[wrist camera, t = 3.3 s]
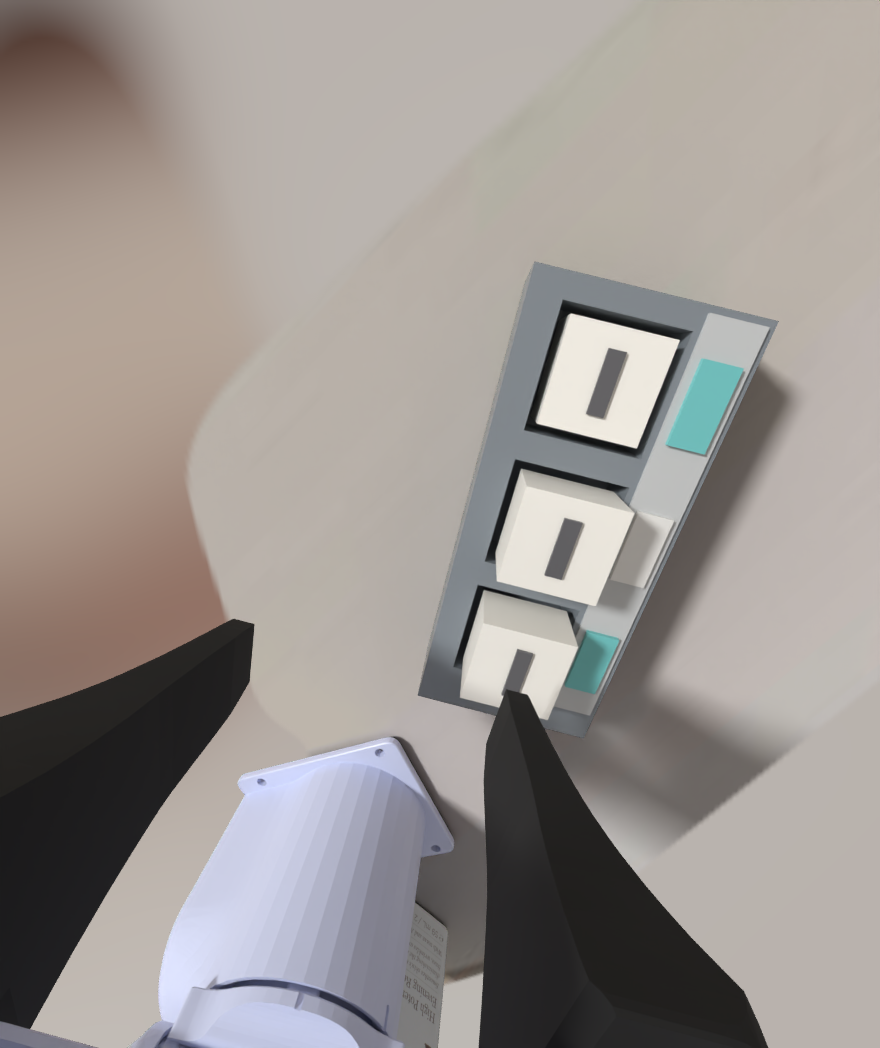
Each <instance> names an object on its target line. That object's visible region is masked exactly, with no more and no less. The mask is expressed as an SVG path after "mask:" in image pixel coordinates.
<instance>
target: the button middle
mask: <svg viewBox="0 0 880 1048" xmlns="http://www.w3.org/2000/svg"><path fill="white" fill-rule="evenodd" d="M634 514H635V513H634V512H633V511H632V510H631V509H630V508H629V507H628V506H627V505H626V504H625V503H624V502H623V501H622V500H621V499H620V498H619V497H618V496H617V495H616V494H615V493H614V492H613V491H609V490H605V489H601V488H597V487H593V486H589V485H585V484H581V483H577V482H573V481H569V480H565V479H561V478H557V477H553V476H549V475H545V474H541V473H537V472H533V471H529V470H525V469H521V471H520V474H519V477H518V480H517V484H516V487H515V490H514V493H513V497H512V500H511V503H510V507H509V510H508V513H507V516H506V520H505V523H504V526H503V529H502V533H501V536H500V539H499V543H498V546H497V549H496V552H495V553H496V576H497V581H498V582H502V583H506V584H510V585H514V586H517V587H521V588H525V589H529V590H533V591H537V592H541V593H545V594H549V595H553V596H557V597H561V598H565V599H569V600H573V601H576V602H580V603H584V604H588V605H592V606H596V604H597V602H598V599H599V597H600V595H601V592H602V590H603V588H604V585H605V583H606V580H607V578H608V576H609V573H610V571H611V568H612V566H613V564H614V561H615V559H616V557H617V554H618V552H619V549H620V547H621V545H622V542H623V540H624V537H625V535H626V533H627V530H628V528H629V526H630V523H631V521H632V518H633V516H634Z"/></svg>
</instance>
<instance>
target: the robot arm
mask: <svg viewBox="0 0 880 1048" xmlns="http://www.w3.org/2000/svg"><path fill="white" fill-rule="evenodd" d="M253 635H254V624H252V623H248V622H244V621H240V620H236V619H232V620H230V621H228V622H226V623H224V624H222V625H220V626H218V627H216V628H215V629H213V630H211V631H209V632H207V633H205V634H203V635H201V636H199V637H197V638H195V639H193V640H192V641H190V642H188V643H186V644H184V645H182V646H180V647H178V648H176V649H174V650H172V651H170V652H168V653H166V654H164V655H162V656H160V657H158V658H155V659H153V660H151V661H149V662H147V663H145V664H143V665H140V666H138V667H136V668H134V669H132V670H130V671H127V672H125V673H123V674H121V675H118V676H116V677H114V678H111V679H109V680H107V681H104V682H101V683H99V684H96V685H94V686H91V687H89V688H86V689H83V690H81V691H78V692H75V693H73V694H70V695H67V696H65V697H62V698H59V699H56V700H53V701H49V702H46V703H44V704H40V705H37V706H34V707H31V708H28V709H25V710H22V711H18V712H15V713H12V714H9V715H6V716H3V717H0V1048H97V1047H93V1046H90V1045H86V1044H82V1043H79V1042H75V1041H71V1040H68V1039H64V1038H60V1037H56V1036H53V1035H49V1034H45V1033H42V1032H38V1031H35V1030H31V1029H30V1028H31V1026H32V1025H33V1023H34V1021H35V1019H36V1017H37V1015H38V1013H39V1012H40V1010H41V1008H42V1006H43V1004H44V1003H45V1001H46V999H47V997H48V996H49V994H50V992H51V990H52V988H53V987H54V985H55V983H56V981H57V979H58V978H59V976H60V974H61V972H62V970H63V969H64V967H65V965H66V963H67V961H68V960H69V958H70V956H71V954H72V952H73V951H74V949H75V947H76V946H77V944H78V942H79V941H80V939H81V937H82V935H83V934H84V932H85V930H86V929H87V927H88V925H89V923H90V922H91V920H92V918H93V917H94V915H95V913H96V911H97V910H98V908H99V906H100V904H101V903H102V901H103V899H104V898H105V896H106V894H107V892H108V891H109V889H110V888H111V886H112V884H113V883H114V881H115V879H116V878H117V876H118V875H119V873H120V871H121V870H122V868H123V866H124V865H125V863H126V862H127V860H128V858H129V857H130V855H131V853H132V852H133V850H134V848H135V847H136V845H137V844H138V842H139V841H140V839H141V837H142V836H143V834H144V833H145V831H146V829H147V828H148V826H149V825H150V823H151V822H152V820H153V818H154V817H155V815H156V814H157V812H158V811H159V809H160V808H161V806H162V805H163V803H164V802H165V801H166V799H167V798H168V796H169V795H170V794H171V792H172V791H173V789H174V788H175V787H176V785H177V784H178V783H179V781H180V780H181V779H182V778H183V776H184V775H185V774H186V772H187V771H188V770H189V768H190V767H191V766H192V764H193V763H194V761H195V760H196V759H197V758H198V756H199V755H200V754H201V752H202V751H203V750H204V749H205V747H206V746H207V745H208V743H209V742H210V741H211V739H212V738H213V737H214V736H215V734H216V733H217V732H218V730H219V729H220V728H221V726H222V725H223V724H224V722H225V721H226V720H227V718H228V717H229V715H230V714H231V712H232V711H233V709H234V707H235V706H236V704H237V702H238V701H239V699H240V697H241V696H242V694H243V692H244V690H245V689H246V687H247V685H248V683H249V681H250V669H251V658H252V647H253ZM379 749H382V750H379ZM238 786H239V788H240V789H241V791H242V792H243V794H244V795H245V796H244V798H243V800H242V802H241V803H240V805H239V807H238V808H237V810H236V812H235V814H234V816H233V818H232V819H231V821H230V823H229V825H228V827H227V828H226V830H225V832H224V834H223V835H222V837H221V839H220V841H219V843H218V844H217V846H216V848H215V850H214V852H213V853H212V855H211V857H210V859H209V860H208V862H207V864H206V866H205V868H204V869H203V871H202V873H201V875H200V877H199V878H198V880H197V882H196V884H195V886H194V887H193V889H192V891H191V893H190V894H189V896H188V898H187V900H186V902H185V903H184V905H183V907H182V909H181V911H180V913H179V915H178V917H177V919H176V921H175V923H174V925H173V928H172V931H171V933H170V936H169V939H168V942H167V946H166V949H165V953H164V957H163V961H162V967H161V972H160V979H159V990H158V991H159V992H158V996H159V1007H160V1014H161V1018H162V1021H159V1022H156V1023H155V1024H153V1025H152V1026H151V1027H150V1028H149V1029H148V1030H147V1031H145V1033H144V1034H143V1035H142V1036H141V1037H140V1038H138V1039H137V1040H136V1041H134V1042H133V1043H132V1044H131V1045H129V1046H128V1047H127V1048H405V1044H404V1043H403V1042H402V1041H399V1040H397V1033H398V1025H399V1018H400V1010H401V1003H402V995H403V988H404V980H405V973H406V965H407V958H408V950H409V943H410V935H411V928H412V920H413V913H414V905H415V898H416V890H417V883H418V875H419V868H420V860H421V857H427V856H432V855H438V854H443V853H448V852H451V851H452V850H453V848H454V839H453V837H452V835H451V833H450V831H449V830H448V828H447V826H446V824H445V823H444V821H443V819H442V817H441V815H440V814H439V812H438V810H437V808H436V807H435V805H434V803H433V801H432V799H431V798H430V796H429V794H428V792H427V791H426V789H425V787H424V785H423V783H422V782H421V780H420V778H419V776H418V775H417V773H416V771H415V769H414V767H413V766H412V764H411V762H410V760H409V759H408V757H407V755H406V753H405V751H404V750H403V748H402V746H401V744H400V743H399V741H398V740H396V739H395V738H392V737H386V738H382V739H378V740H375V741H371V742H367V743H363V744H359V745H355V746H351V747H347V748H343V749H339V750H335V751H331V752H327V753H323V754H320V755H316V756H312V757H308V758H304V759H300V760H296V761H292V762H288V763H284V764H280V765H276V766H273V767H269V768H265V769H261V770H257V771H253V772H249V773H245V774H243V775H242V776H241V777H240V779H239V781H238ZM484 805H485V830H486V855H487V915H486V937H485V956H484V974H483V992H482V1007H481V1008H482V1009H481V1022H480V1036H479V1048H768V1046H767V1044H766V1041H765V1038H764V1036H763V1033H762V1031H761V1028H760V1026H759V1023H758V1021H757V1019H756V1017H755V1014H754V1012H753V1010H752V1008H751V1006H750V1003H749V1001H748V999H747V997H746V995H745V993H744V991H743V990H742V989H741V988H740V987H739V986H738V985H737V984H736V983H735V982H734V981H733V980H732V979H731V978H730V977H729V976H728V975H727V974H726V973H725V972H724V971H723V970H722V969H721V968H720V967H719V966H718V965H717V963H715V961H713V959H712V958H711V957H710V956H709V955H708V954H707V953H706V952H705V951H704V950H703V949H702V948H701V947H700V946H699V945H698V944H697V943H696V942H695V941H694V940H693V939H692V938H691V937H690V936H689V935H688V934H687V932H686V931H685V930H684V929H683V928H682V927H681V926H680V925H679V924H678V922H677V921H676V920H675V919H674V918H673V917H672V916H671V915H670V913H669V912H668V911H667V910H666V909H665V908H664V907H663V906H662V904H661V903H660V902H659V901H658V900H657V899H656V897H655V896H654V895H653V894H652V893H651V891H650V890H648V888H647V887H646V886H645V884H644V883H643V882H642V881H641V879H640V878H639V877H638V876H637V874H636V873H635V872H634V870H633V869H632V868H631V867H630V865H629V864H628V863H627V862H626V860H625V859H624V858H623V857H622V855H621V854H620V853H619V851H618V850H617V849H616V847H615V846H614V845H613V843H612V842H611V840H610V839H609V838H608V836H607V835H606V833H605V832H604V830H603V829H602V828H601V826H600V825H599V823H598V822H597V820H596V819H595V817H594V816H593V815H592V813H591V812H590V810H589V808H588V807H587V805H586V804H585V802H584V800H583V799H582V797H581V795H580V794H579V792H578V790H577V789H576V787H575V785H574V784H573V782H572V780H571V779H570V777H569V775H568V773H567V772H566V770H565V768H564V766H563V764H562V762H561V760H560V759H559V757H558V755H557V753H556V751H555V749H554V747H553V745H552V743H551V741H550V740H549V738H548V736H547V733H546V731H545V729H544V727H543V725H542V723H541V721H540V719H539V717H538V715H537V713H536V710H535V708H534V706H533V704H532V702H531V700H530V698H529V696H528V695H527V694H523V693H519V692H516V691H512V690H508V689H506V691H505V693H504V696H503V699H502V702H501V704H500V707H499V710H498V713H497V715H496V718H495V721H494V724H493V727H492V729H491V732H490V735H489V738H488V740H487V743H486V756H485V769H484Z"/></svg>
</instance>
